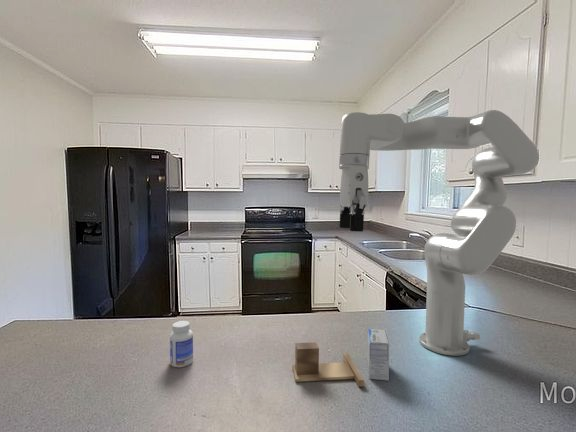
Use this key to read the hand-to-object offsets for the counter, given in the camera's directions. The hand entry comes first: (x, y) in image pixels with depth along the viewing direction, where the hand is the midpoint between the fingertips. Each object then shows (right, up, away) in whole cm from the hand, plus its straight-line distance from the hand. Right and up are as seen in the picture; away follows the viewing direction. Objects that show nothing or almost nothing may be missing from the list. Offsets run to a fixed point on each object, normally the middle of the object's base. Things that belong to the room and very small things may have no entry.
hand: (350, 229), depth 79 cm
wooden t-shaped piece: (-8, -33, -8) cm, 35 cm away
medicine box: (+5, -34, -6) cm, 35 cm away
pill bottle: (-43, -33, -4) cm, 54 cm away
